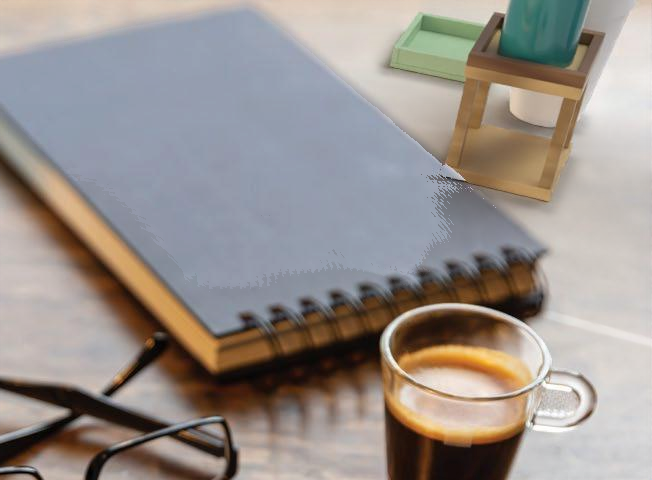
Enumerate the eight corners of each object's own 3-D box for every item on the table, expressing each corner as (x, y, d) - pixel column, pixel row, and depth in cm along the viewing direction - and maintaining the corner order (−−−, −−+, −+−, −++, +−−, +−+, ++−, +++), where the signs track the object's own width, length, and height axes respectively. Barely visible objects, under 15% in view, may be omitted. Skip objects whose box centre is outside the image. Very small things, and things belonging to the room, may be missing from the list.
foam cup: (470, 107, 120) (504, -33, 112) (529, 78, 125) (566, -59, 116) (561, 146, 115) (604, 2, 106) (619, 114, 119) (665, -27, 110)
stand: (569, 153, 114) (606, 32, 106) (549, 202, 108) (586, 77, 100) (465, 130, 117) (494, 11, 110) (440, 176, 111) (468, 53, 104)
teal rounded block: (580, 47, 107) (609, -52, 101) (566, 77, 103) (595, -25, 97) (505, 33, 109) (529, -65, 103) (489, 61, 105) (513, -39, 99)
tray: (507, 48, 129) (512, 29, 128) (485, 86, 123) (490, 66, 122) (415, 30, 133) (419, 11, 131) (389, 66, 126) (393, 47, 125)
